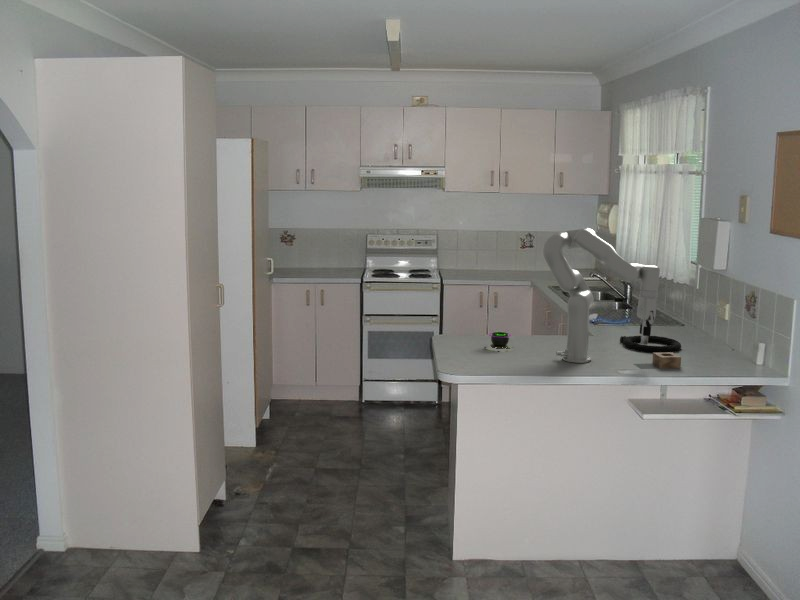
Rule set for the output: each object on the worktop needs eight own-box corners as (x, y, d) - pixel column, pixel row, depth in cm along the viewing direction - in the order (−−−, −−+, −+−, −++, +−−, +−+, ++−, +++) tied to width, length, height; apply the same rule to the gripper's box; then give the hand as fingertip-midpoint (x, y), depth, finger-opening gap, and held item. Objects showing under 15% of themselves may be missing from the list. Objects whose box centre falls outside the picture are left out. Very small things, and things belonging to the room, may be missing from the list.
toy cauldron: (521, 350, 379) (522, 328, 378) (495, 353, 373) (496, 331, 371) (503, 344, 393) (504, 322, 391) (478, 347, 386) (478, 325, 384)
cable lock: (669, 349, 369) (609, 340, 388) (668, 357, 369) (608, 347, 388) (689, 339, 390) (632, 331, 409) (689, 347, 390) (631, 338, 409)
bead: (660, 368, 344) (661, 357, 343) (652, 363, 353) (653, 352, 352) (680, 368, 345) (681, 357, 344) (671, 363, 354) (672, 352, 353)
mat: (640, 369, 343) (640, 368, 343) (632, 364, 352) (633, 363, 352) (682, 369, 345) (682, 368, 345) (673, 364, 354) (673, 363, 354)
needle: (642, 344, 345) (645, 313, 343) (639, 342, 348) (642, 311, 346) (648, 344, 345) (651, 313, 343) (646, 342, 348) (648, 312, 346)
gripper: (633, 290, 350) (629, 330, 354) (647, 296, 334) (644, 338, 338) (649, 290, 351) (645, 330, 354) (664, 297, 335) (660, 339, 338)
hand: (644, 334), depth 346 cm, fingers closed on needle, 3 cm apart
